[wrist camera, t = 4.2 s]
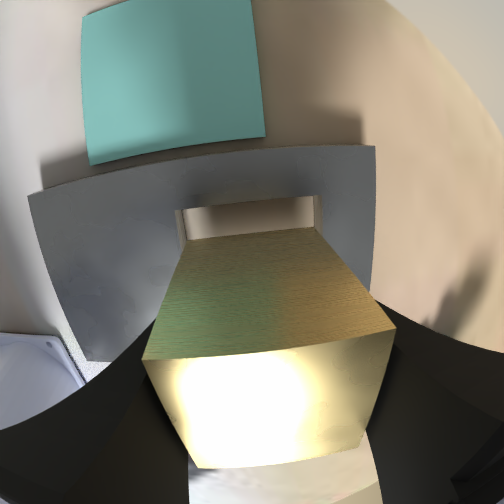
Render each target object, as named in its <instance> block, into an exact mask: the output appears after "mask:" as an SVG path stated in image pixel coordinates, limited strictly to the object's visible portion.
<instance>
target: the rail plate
mask: <svg viewBox="0 0 504 504" xmlns="http://www.w3.org/2000/svg"><path fill="white" fill-rule="evenodd" d="M302 196H313V199H314V228H315V229H316V230H317V231H318V232H319V233H320V234H321V236H322V237H323V238H324V239H325V240H326V241H327V243H328V244H329V245H330V246H331V247H332V248H333V250H334V251H335V252H336V253H337V254H338V255H339V257H340V258H341V259H342V260H343V261H344V263H345V264H346V265H347V266H348V267H349V269H350V270H351V271H352V272H353V273H354V275H355V276H356V277H357V278H358V280H359V281H360V282H361V283H362V284H363V286H364V287H365V288H366V289H367V291H368V292H369V291H370V282H371V272H372V261H373V248H374V231H375V206H376V158H375V146H370V145H307V146H287V147H272V148H260V149H249V150H239V151H230V152H221V153H213V154H205V155H198V156H191V157H185V158H178V159H172V160H166V161H161V162H155V163H150V164H144V165H139V166H134V167H130V168H125V169H120V170H116V171H111V172H107V173H103V174H98V175H94V176H90V177H86V178H83V179H79V180H75V181H71V182H68V183H64V184H61V185H57V186H54V187H50V188H47V189H44V190H41V191H38V192H36V193H33V194H31V195H28V196H27V197H28V202H29V206H30V211H31V215H32V219H33V223H34V227H35V231H36V234H37V238H38V242H39V245H40V248H41V252H42V255H43V258H44V261H45V264H46V267H47V270H48V273H49V276H50V278H51V281H52V284H53V287H54V289H55V292H56V294H57V297H58V299H59V302H60V304H61V307H62V309H63V311H64V314H65V316H66V318H67V321H68V323H69V325H70V327H71V329H72V332H73V334H74V336H75V338H76V340H77V342H78V344H79V346H80V348H81V350H82V352H83V354H84V356H85V358H86V359H87V361H97V362H113V361H114V360H115V359H116V358H117V357H118V356H119V355H120V354H121V353H122V352H123V351H124V350H125V349H127V348H128V347H129V346H130V345H131V344H132V343H133V342H134V341H135V340H136V339H137V337H138V336H139V335H140V334H141V333H142V332H143V331H144V330H145V329H146V328H147V327H148V326H149V325H150V324H151V323H152V322H153V321H154V319H155V318H156V317H157V315H158V312H159V310H160V307H161V304H162V302H163V299H164V296H165V294H166V291H167V289H168V286H169V284H170V281H171V279H172V276H173V274H174V271H175V269H176V266H177V264H178V261H179V259H180V256H181V254H182V252H183V249H184V247H185V244H186V242H187V239H186V233H185V228H184V222H183V216H182V209H189V208H197V207H205V206H213V205H221V204H230V203H239V202H248V201H258V200H268V199H279V198H290V197H302Z"/></svg>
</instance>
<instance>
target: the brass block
mask: <svg viewBox="0 0 504 504" xmlns="http://www.w3.org/2000/svg"><path fill="white" fill-rule="evenodd" d="M395 332H396V327H395V325H394V324H393V323H392V321H391V320H390V319H389V318H388V316H387V315H386V314H385V312H384V311H383V310H382V308H381V307H380V306H379V305H378V303H377V302H376V301H375V300H374V298H373V297H372V296H371V294H370V293H369V292H368V291H367V289H366V288H365V287H364V286H363V284H362V283H361V282H360V281H359V280H358V278H357V277H356V276H355V275H354V273H353V272H352V271H351V270H350V269H349V267H348V266H347V265H346V264H345V263H344V261H343V260H342V259H341V258H340V257H339V255H338V254H337V253H336V252H335V251H334V250H333V248H332V247H331V246H330V245H329V244H328V243H327V241H326V240H325V239H324V238H323V237H322V236H321V234H320V233H319V232H318V231H317V230H316V229H315V228H314V227H307V228H297V229H287V230H278V231H268V232H258V233H249V234H240V235H231V236H222V237H213V238H204V239H196V240H187V242H186V244H185V247H184V249H183V252H182V254H181V256H180V259H179V261H178V264H177V266H176V269H175V271H174V274H173V276H172V279H171V281H170V284H169V286H168V289H167V291H166V294H165V296H164V299H163V302H162V304H161V307H160V310H159V312H158V315H157V318H156V320H155V323H154V326H153V329H152V331H151V334H150V337H149V340H148V343H147V346H146V348H145V351H144V354H143V357H142V362H143V364H144V366H145V369H146V371H147V373H148V375H149V378H150V380H151V382H152V384H153V386H154V388H155V390H156V393H157V395H158V397H159V399H160V401H161V403H162V405H163V407H164V409H165V411H166V413H167V414H168V416H169V418H170V420H171V422H172V424H173V426H174V428H175V429H176V431H177V433H178V435H179V436H180V438H181V440H182V442H183V443H184V445H185V447H186V449H187V450H188V452H189V454H190V455H191V457H192V458H193V460H194V462H195V463H196V465H197V466H198V468H232V467H248V466H260V465H269V464H278V463H285V462H292V461H298V460H304V459H309V458H315V457H320V456H324V455H329V454H333V453H338V452H342V451H346V450H350V449H354V448H357V447H358V446H359V444H360V442H361V439H362V437H363V434H364V432H365V429H366V427H367V424H368V421H369V419H370V416H371V413H372V411H373V408H374V405H375V402H376V399H377V396H378V393H379V390H380V387H381V384H382V381H383V377H384V374H385V371H386V367H387V364H388V360H389V356H390V353H391V349H392V345H393V341H394V337H395Z"/></svg>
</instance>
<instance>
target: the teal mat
mask: <svg viewBox="0 0 504 504" xmlns="http://www.w3.org/2000/svg"><path fill="white" fill-rule="evenodd" d="M81 84H82V103H83V116H84V127H85V136H86V144H87V152H88V159H89V165H90V166H92V165H96V164H100V163H104V162H108V161H112V160H116V159H121V158H125V157H130V156H134V155H139V154H144V153H149V152H154V151H159V150H165V149H171V148H177V147H183V146H189V145H196V144H203V143H210V142H218V141H226V140H235V139H245V138H256V137H266V135H265V124H264V114H263V104H262V94H261V84H260V75H259V65H258V56H257V48H256V39H255V31H254V22H253V14H252V6H251V0H129V1H126V2H122V3H119V4H116V5H113V6H111V7H108V8H105V9H102V10H99V11H97V12H94V13H92V14H89V15H87V16H84V17H83V18H82V35H81Z"/></svg>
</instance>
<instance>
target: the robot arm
mask: <svg viewBox="0 0 504 504" xmlns="http://www.w3.org/2000/svg"><path fill="white" fill-rule="evenodd" d="M374 300H375V299H374ZM375 301H376V302H377V303H378V305H379V306H380V307H381V308H382V310H383V311H384V312H385V314H386V315H387V316H388V318H389V319H390V320H391V321H392V323H393V324H394V325H395V327H396V332H395V337H394V341H393V345H392V349H391V353H390V356H389V360H388V364H387V367H386V371H385V374H384V377H383V381H382V384H381V387H380V390H379V393H378V396H377V399H376V402H375V405H374V408H373V411H372V413H371V416H370V419H369V421H368V424H367V427H366V429H365V430H366V433H367V436H368V440H369V443H370V447H371V450H372V454H373V458H374V462H375V466H376V470H377V474H378V479H379V484H380V489H381V494H382V500H383V504H504V353H500V352H496V351H491V350H487V349H484V348H480V347H477V346H473V345H470V344H467V343H464V342H461V341H458V340H455V339H452V338H450V337H447V336H445V335H442V334H440V333H437V332H435V331H433V330H431V329H428V328H426V327H424V326H422V325H420V324H418V323H416V322H414V321H412V320H410V319H408V318H407V317H405V316H403V315H401V314H399V313H397V312H396V311H394V310H392V309H390V308H389V307H387V306H385V305H383V304H382V303H380V302H378V301H377V300H375ZM156 318H157V317H156ZM156 318H155V319H154V321H153V322H152V323H151V324H150V325H149V326H148V327H147V328H146V329H145V330H144V331H143V332H142V333H141V334H140V335H139V336H138V337H137V339H136V340H135V341H134V342H133V343H132V344H131V345H130V346H129V347H128V348H127V349H125V350H124V351H123V352H122V353H121V354H120V355H119V356H118V357H117V358H116V359H115V360H114V361H113V362H112V363H111V364H110V365H109V366H107V367H106V368H105V369H104V370H103V371H102V372H100V373H99V374H98V375H97V376H96V377H94V378H93V379H92V380H90V381H89V382H88V383H87V384H85V383H84V381H83V379H82V378H81V376H80V374H79V373H78V371H77V369H76V368H75V366H74V364H73V362H72V361H71V359H70V357H69V355H68V353H67V351H66V350H65V348H64V346H63V344H62V342H61V340H60V339H59V338H58V337H56V336H43V335H26V334H12V333H0V504H189V486H188V450H187V449H186V447H185V445H184V443H183V442H182V440H181V438H180V436H179V435H178V433H177V431H176V429H175V428H174V426H173V424H172V422H171V420H170V418H169V416H168V414H167V413H166V411H165V409H164V407H163V405H162V403H161V401H160V399H159V397H158V395H157V393H156V390H155V388H154V386H153V384H152V382H151V380H150V378H149V375H148V373H147V371H146V369H145V366H144V364H143V362H142V357H143V354H144V351H145V348H146V346H147V343H148V340H149V337H150V334H151V331H152V329H153V326H154V323H155V320H156Z"/></svg>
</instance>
